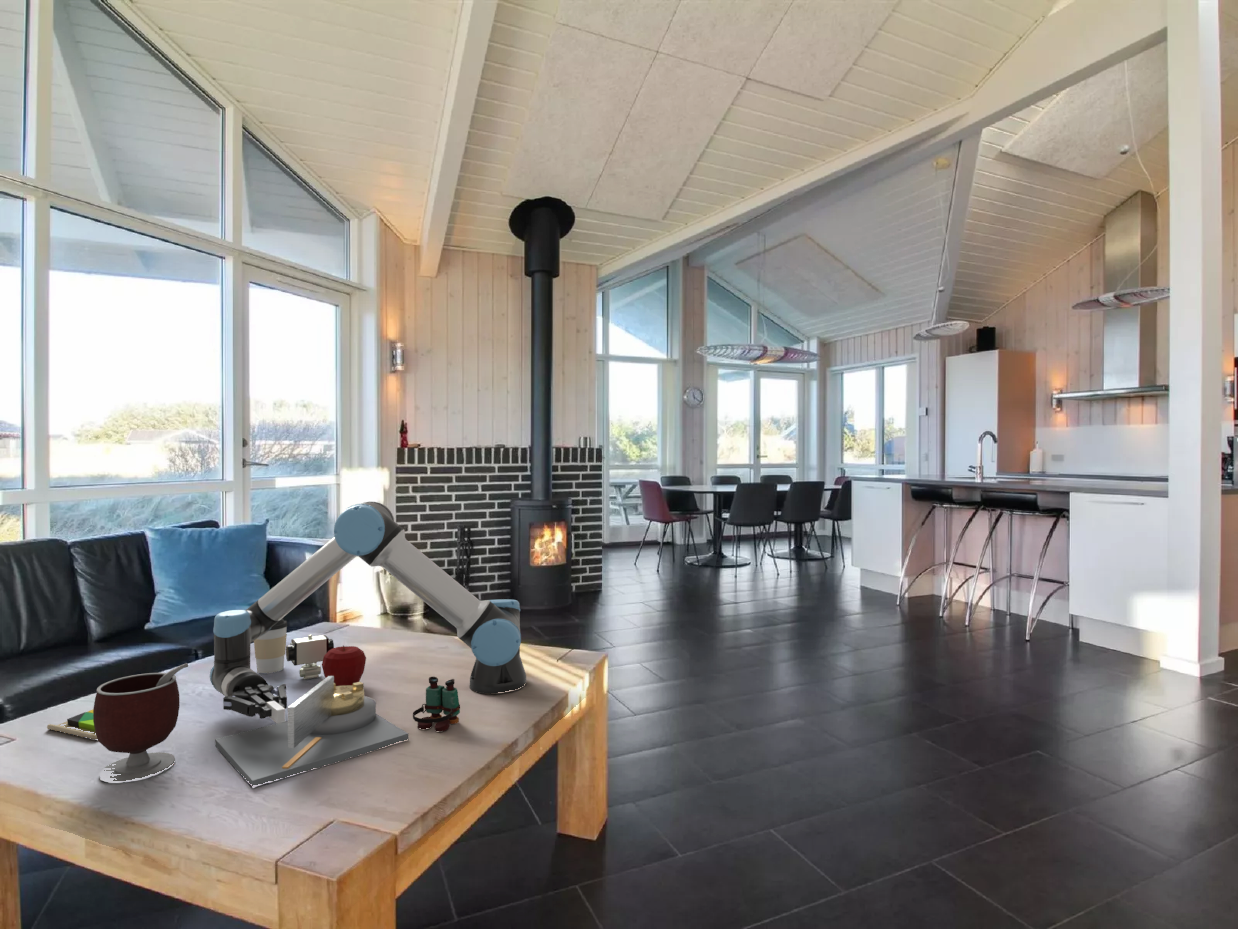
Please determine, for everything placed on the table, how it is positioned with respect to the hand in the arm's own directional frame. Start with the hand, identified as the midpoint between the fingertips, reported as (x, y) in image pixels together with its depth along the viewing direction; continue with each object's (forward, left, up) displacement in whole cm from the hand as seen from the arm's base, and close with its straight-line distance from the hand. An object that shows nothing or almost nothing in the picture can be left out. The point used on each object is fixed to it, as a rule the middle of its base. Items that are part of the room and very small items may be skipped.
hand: (281, 716), depth 137 cm
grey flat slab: (+1, -9, -9) cm, 13 cm away
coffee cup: (+52, -44, -9) cm, 69 cm away
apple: (+20, -39, -9) cm, 45 cm away
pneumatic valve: (+36, -43, -9) cm, 57 cm away
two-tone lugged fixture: (-1, -10, -4) cm, 11 cm away
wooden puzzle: (+54, -2, -10) cm, 55 cm away
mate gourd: (+23, +12, -9) cm, 28 cm away
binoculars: (-19, -26, -9) cm, 33 cm away
